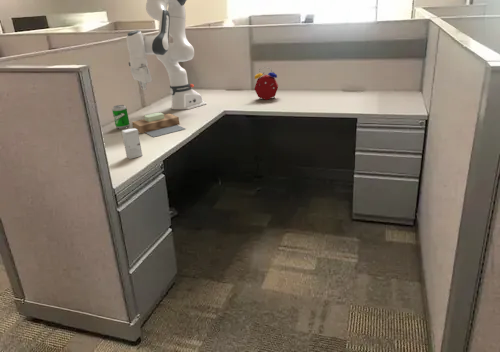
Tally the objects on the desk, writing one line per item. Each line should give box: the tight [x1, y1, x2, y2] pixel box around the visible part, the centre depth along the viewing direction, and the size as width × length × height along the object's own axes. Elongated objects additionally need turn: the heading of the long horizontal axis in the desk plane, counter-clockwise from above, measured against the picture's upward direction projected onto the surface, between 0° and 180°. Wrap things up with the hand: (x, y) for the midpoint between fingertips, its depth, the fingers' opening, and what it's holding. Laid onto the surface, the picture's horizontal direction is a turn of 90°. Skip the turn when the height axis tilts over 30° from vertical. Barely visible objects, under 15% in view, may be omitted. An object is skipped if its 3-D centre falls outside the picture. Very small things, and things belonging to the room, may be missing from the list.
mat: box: [144, 124, 186, 138], centre depth 218 cm, size 18×11×1 cm, turn 124°
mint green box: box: [143, 112, 165, 122], centre depth 226 cm, size 9×6×2 cm, turn 124°
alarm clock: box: [253, 66, 279, 101], centre depth 262 cm, size 15×9×20 cm, turn 84°
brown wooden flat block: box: [131, 113, 181, 134], centre depth 226 cm, size 22×12×4 cm, turn 124°
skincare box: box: [121, 127, 143, 160], centre depth 182 cm, size 6×4×12 cm
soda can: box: [111, 104, 131, 130], centre depth 229 cm, size 8×8×12 cm
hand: (143, 89), depth 227 cm, fingers closed
